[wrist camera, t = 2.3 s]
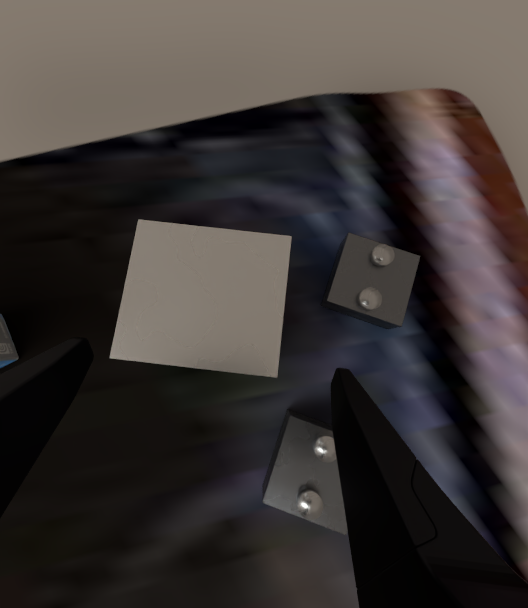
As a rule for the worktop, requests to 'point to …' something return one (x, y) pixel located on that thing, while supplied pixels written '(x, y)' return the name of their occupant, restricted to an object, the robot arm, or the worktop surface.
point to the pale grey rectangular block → (204, 298)
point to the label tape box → (6, 345)
